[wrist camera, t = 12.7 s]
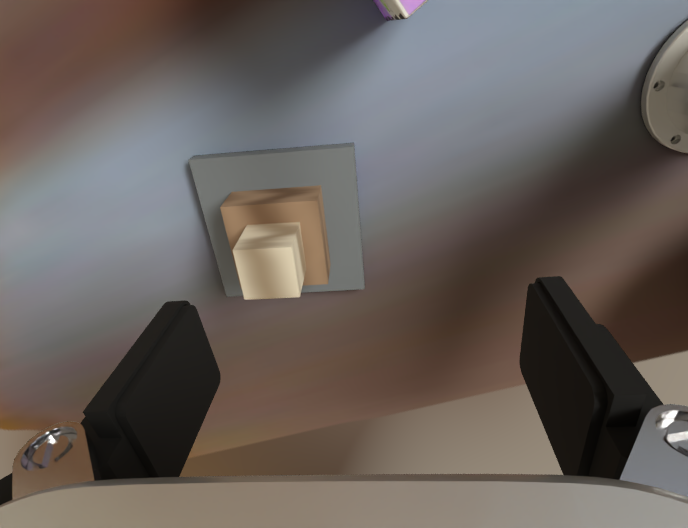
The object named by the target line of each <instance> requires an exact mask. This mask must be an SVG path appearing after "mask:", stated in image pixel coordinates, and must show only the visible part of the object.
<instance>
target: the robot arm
mask: <svg viewBox="0 0 688 528" xmlns="http://www.w3.org/2000/svg"><path fill="white" fill-rule="evenodd" d="M654 85H655V86H654ZM641 110H642V117H643V120H644V123H645V126H646V128H647V130H648V131H649V133H650V134H651V136H652V137H653V138H654V139H656V140H657V141H658V142H659V143H660V144H662V145H664V146H666V147H668V148H670V149H673V150H676V151H679V152H682V153H688V20H687V21H686V22H685V23H684V24H683V25H681V26H680V27H679V28H678V29H677V30H676V31H675V32H674V33H673V34H672V36H671V37H670V38H669V39H668V40H667V41H666V42H665V44H664V45H663V46H662V48H661V49H660V51H659V52H658V54H657V55H656V57H655V58H654V60H653V62H652V64H651V67H650V69H649V71H648V73H647V75H646V79H645V82H644V86H643V89H642V97H641ZM520 368H521V372H522V375H523V377H524V380H525V382H526V385H527V387H528V389H529V392H530V394H531V397H532V399H533V402H534V404H535V407H536V409H537V411H538V414H539V416H540V419H541V421H542V423H543V426H544V428H545V431H546V433H547V435H548V438H549V441H550V443H551V446H552V448H553V450H554V453H555V455H556V458H557V460H558V462H559V465H560V467H561V470H562V472H563V475H530V474H529V475H528V474H391V475H390V474H386V475H385V474H382V475H380V474H379V475H288V476H287V475H277V476H215V477H214V476H212V477H179V476H180V473H181V471H182V469H183V467H184V464H185V462H186V460H187V457H188V455H189V453H190V451H191V448H192V446H193V444H194V441H195V439H196V437H197V434H198V432H199V430H200V428H201V425H202V423H203V421H204V418H205V416H206V414H207V411H208V409H209V407H210V405H211V402H212V400H213V398H214V395H215V393H216V391H217V389H218V386H219V383H220V371H219V368H218V366H217V363H216V360H215V358H214V355H213V352H212V349H211V347H210V344H209V341H208V339H207V336H206V333H205V331H204V328H203V325H202V322H201V320H200V317H199V314H198V312H197V309H196V307H195V306H194V305H190V303H189V302H188V301H172V302H166V303H165V304H164V305H163V306H162V308H161V309H160V310H159V312H158V313H157V314H156V316H155V317H154V318H153V319H152V321H151V322H150V323H149V325H148V326H147V327H146V329H145V330H144V331H143V333H142V334H141V335H140V337H139V338H138V339H137V341H136V342H135V343H134V345H133V346H132V347H131V349H130V350H129V351H128V353H127V354H126V355H125V357H124V358H123V359H122V361H121V362H120V363H119V365H118V366H117V367H116V369H115V370H114V371H113V373H112V374H111V375H110V377H109V378H108V379H107V381H106V382H105V383H104V385H103V386H102V387H101V388H100V390H99V391H98V392H97V394H96V395H95V396H94V398H93V399H92V400H91V402H90V403H89V404H88V406H87V407H86V408H85V410H84V411H83V413H84V415H85V416H86V417H85V418H84V419H83V421H82V422H81V423H78V422H74V421H66V422H62V423H58V424H55V425H53V426H50V427H48V428H46V429H44V430H43V431H41V432H39V433H38V434H36V435H35V436H34V437H32V438H31V439H30V440H29V441H27V443H26V444H25V445H24V446H23V447H22V448H21V449H20V450H19V452H18V454H17V455H16V457H15V459H14V463H13V471H12V473H11V474H10V475H8V476H6V477H4V478H3V479H1V480H0V528H688V407H687V406H682V405H675V404H667V405H663V403H662V402H661V401H660V399H659V398H658V397H657V395H656V394H655V393H654V391H653V390H652V389H651V387H650V386H649V385H648V383H647V382H646V381H645V379H644V378H643V377H642V375H641V374H640V372H639V371H638V370H637V369H636V367H635V366H634V364H633V363H632V362H631V360H630V359H629V358H628V356H627V355H626V354H625V352H624V351H623V350H622V348H621V347H620V346H619V344H618V343H617V342H616V340H615V339H614V338H613V336H612V335H611V334H610V332H609V331H608V330H607V329H606V328H605V327H604V326H603V325H601V324H595V322H594V321H593V319H592V318H591V317H590V315H589V314H588V313H587V311H586V310H585V308H584V307H583V306H582V304H581V303H580V301H579V300H578V299H577V297H576V296H575V294H574V293H573V292H572V290H571V289H570V288H569V286H568V285H567V283H566V282H565V281H564V279H563V278H562V277H560V276H557V277H542V278H537V279H536V281H535V283H533V284H529V286H528V291H527V300H526V308H525V317H524V326H523V335H522V343H521V352H520Z"/></svg>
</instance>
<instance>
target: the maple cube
mask: <svg viewBox="0 0 688 528" xmlns="http://www.w3.org/2000/svg"><path fill="white" fill-rule="evenodd" d="M233 254H234V258H235V262H236V267H237V271H238V275H239V279H240V283H241V287H242V291H243V295H244V300H248V299H270V298H292V297H300V295H301V290H302V286H303V281H304V277H305V272H306V262H305V255H304V248H303V242H302V235H301V228H300V222H291V223H274V224H257V225H247V226H246V228H245V229H244V231H243V233H242V235H241V236H240V238H239V240H238V242H237V243H236V245H235V247H234V249H233Z"/></svg>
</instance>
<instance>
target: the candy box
mask: <svg viewBox="0 0 688 528" xmlns="http://www.w3.org/2000/svg"><path fill="white" fill-rule="evenodd" d="M373 1H374V2H375V4H376V5H377V7H378V8H379V10H380V11H381V13H382V14H383V16H384V18H385V19H386V20H387V21H389V20H398V19H407V18H408V17H410V16H411V15H412V14H413V13H414V12H415V11H416V10H417V9H419V8H420V7H421V6H422V5H423V4H425V3H426V2H427V1H428V0H373Z"/></svg>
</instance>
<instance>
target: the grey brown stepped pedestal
mask: <svg viewBox="0 0 688 528" xmlns="http://www.w3.org/2000/svg"><path fill="white" fill-rule="evenodd" d="M188 161H189V164H190V168H191V171H192V175H193V178H194V182H195V186H196V189H197V193H198V196H199V200H200V204H201V207H202V211H203V214H204V218H205V222H206V225H207V229H208V232H209V236H210V239H211V243H212V247H213V250H214V254H215V257H216V261H217V265H218V268H219V272H220V275H221V279H222V283H223V286H224V290H225V293H226V297H229V296H244V295H243V291H242V287H241V283H240V279H239V275H238V271H237V267H236V262H235V258H234V254H233V249H234V247H235V245H236V243H237V242H238V240H239V238H240V236H241V235H242V233H243V231H244V229H245V228H246V226H247V225H257V224H274V223H291V222H300V228H301V235H302V242H303V248H304V255H305V262H306V272H305V277H304V281H303V286H302V290H301V293H303V292H321V291H340V290H358V289H365V281H364V268H363V255H362V242H361V228H360V215H359V202H358V189H357V176H356V162H355V149H354V143H345V144H332V145H320V146H308V147H295V148H283V149H271V150H258V151H246V152H234V153H221V154H209V155H197V156H193V157H192V158H190V159H189V160H188Z"/></svg>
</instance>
